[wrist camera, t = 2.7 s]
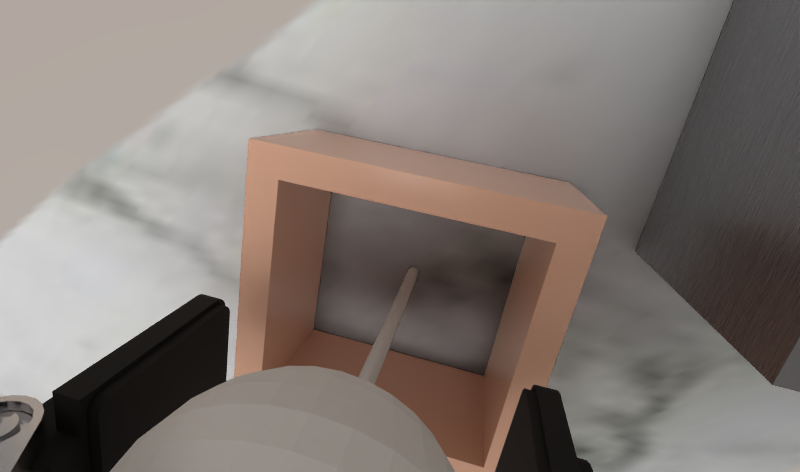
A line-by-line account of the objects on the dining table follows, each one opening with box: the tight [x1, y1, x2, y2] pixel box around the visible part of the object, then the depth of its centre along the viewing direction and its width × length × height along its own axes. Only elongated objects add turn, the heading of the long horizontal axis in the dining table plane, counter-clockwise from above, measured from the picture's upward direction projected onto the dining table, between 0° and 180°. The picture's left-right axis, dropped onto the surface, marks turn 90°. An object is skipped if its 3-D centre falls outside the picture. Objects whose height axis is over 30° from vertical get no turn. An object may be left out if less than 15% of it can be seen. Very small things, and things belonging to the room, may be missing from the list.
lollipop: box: [110, 267, 455, 472], centre depth 11 cm, size 6×6×15 cm
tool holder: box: [234, 129, 608, 472], centre depth 15 cm, size 10×10×5 cm
